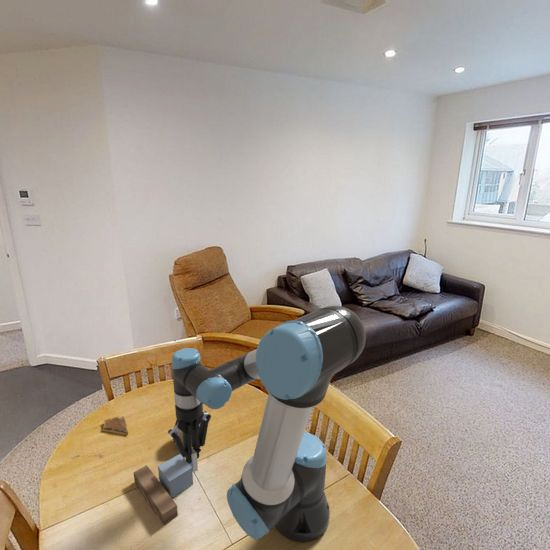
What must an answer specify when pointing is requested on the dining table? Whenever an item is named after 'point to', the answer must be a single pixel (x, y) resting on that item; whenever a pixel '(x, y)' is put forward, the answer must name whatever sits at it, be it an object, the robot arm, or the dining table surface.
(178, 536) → the dining table surface
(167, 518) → the brown wavy bar
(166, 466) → the block
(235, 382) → the robot arm
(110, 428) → the shard
